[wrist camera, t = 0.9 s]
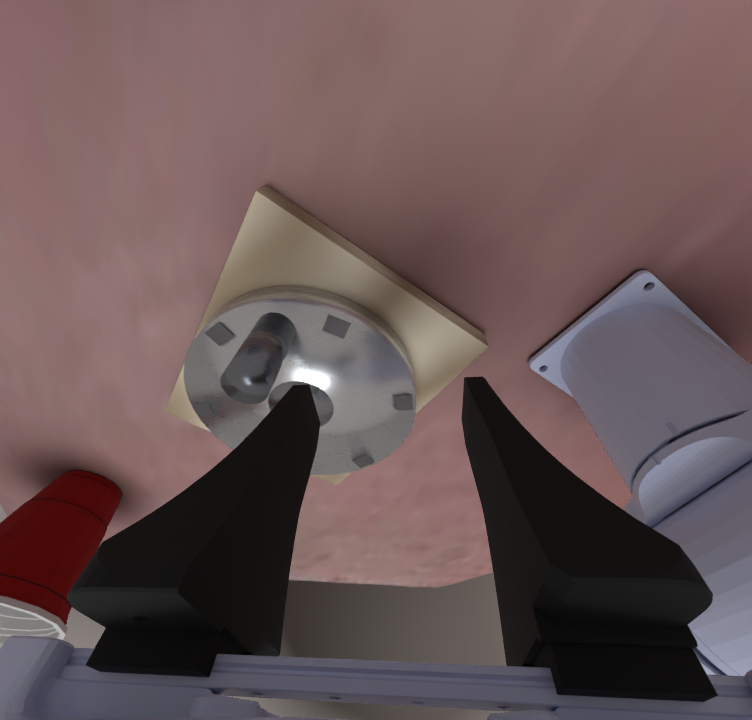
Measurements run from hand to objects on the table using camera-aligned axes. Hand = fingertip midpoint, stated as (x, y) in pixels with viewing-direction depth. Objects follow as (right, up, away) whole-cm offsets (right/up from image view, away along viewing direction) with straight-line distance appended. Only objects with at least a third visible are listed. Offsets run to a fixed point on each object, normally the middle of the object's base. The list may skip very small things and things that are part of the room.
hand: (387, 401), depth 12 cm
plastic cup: (-29, -11, +22) cm, 38 cm away
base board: (-5, +1, +11) cm, 12 cm away
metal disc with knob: (-5, 0, +10) cm, 11 cm away
